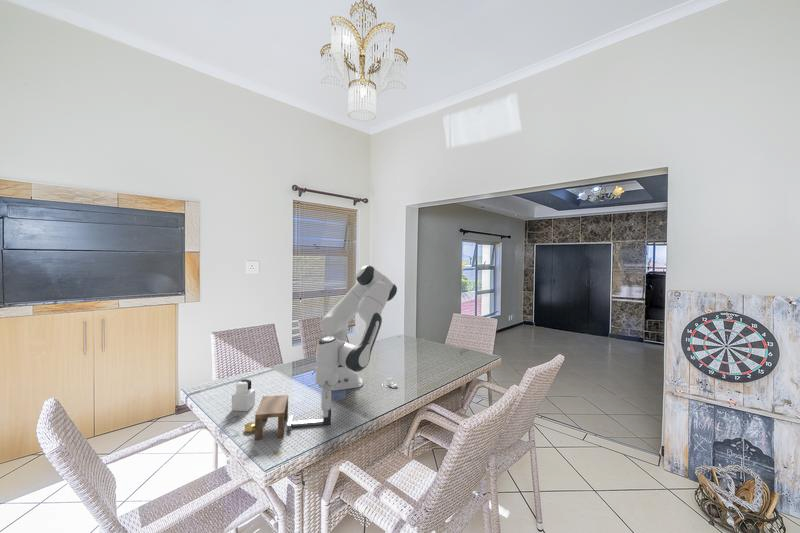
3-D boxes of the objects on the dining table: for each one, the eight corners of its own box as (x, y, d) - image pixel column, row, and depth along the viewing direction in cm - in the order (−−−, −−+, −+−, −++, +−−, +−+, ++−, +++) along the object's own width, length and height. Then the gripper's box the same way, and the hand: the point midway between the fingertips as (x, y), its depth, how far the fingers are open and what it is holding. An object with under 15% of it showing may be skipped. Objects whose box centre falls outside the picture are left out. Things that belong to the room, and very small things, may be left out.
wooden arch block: (287, 417, 141) (288, 395, 141) (283, 437, 126) (283, 412, 125) (262, 418, 139) (263, 396, 139) (254, 440, 123) (255, 414, 123)
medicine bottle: (239, 403, 152) (240, 377, 152) (255, 404, 152) (255, 378, 151) (231, 410, 145) (231, 383, 145) (247, 411, 145) (248, 384, 144)
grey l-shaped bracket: (330, 418, 141) (331, 390, 141) (330, 428, 133) (331, 398, 133) (289, 421, 137) (289, 392, 137) (286, 431, 130) (287, 401, 129)
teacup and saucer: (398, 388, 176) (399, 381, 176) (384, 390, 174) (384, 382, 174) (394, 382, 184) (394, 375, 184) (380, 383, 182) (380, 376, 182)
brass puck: (259, 426, 134) (259, 421, 133) (257, 432, 129) (257, 427, 129) (245, 427, 132) (246, 422, 132) (243, 434, 127) (243, 429, 127)
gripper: (335, 387, 127) (334, 422, 127) (333, 368, 147) (333, 399, 147) (318, 387, 125) (317, 424, 126) (319, 369, 145) (318, 400, 146)
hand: (325, 410), depth 137 cm, fingers open, 8 cm apart
